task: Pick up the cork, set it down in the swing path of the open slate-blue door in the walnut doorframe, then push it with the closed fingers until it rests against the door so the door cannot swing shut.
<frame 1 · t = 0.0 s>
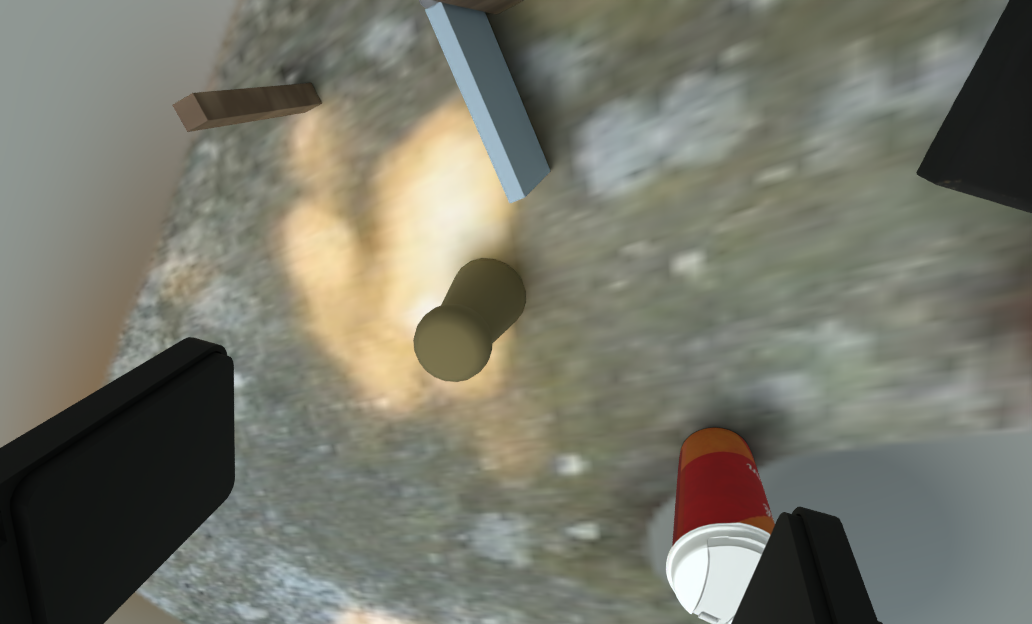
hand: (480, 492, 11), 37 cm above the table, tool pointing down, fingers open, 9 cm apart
door: (492, 92, 40), point 5 cm above the table, hinge at 90.0°
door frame: (402, 47, 45), on the table
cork: (489, 293, 51), on the table
paper cup: (715, 454, 52), on the table
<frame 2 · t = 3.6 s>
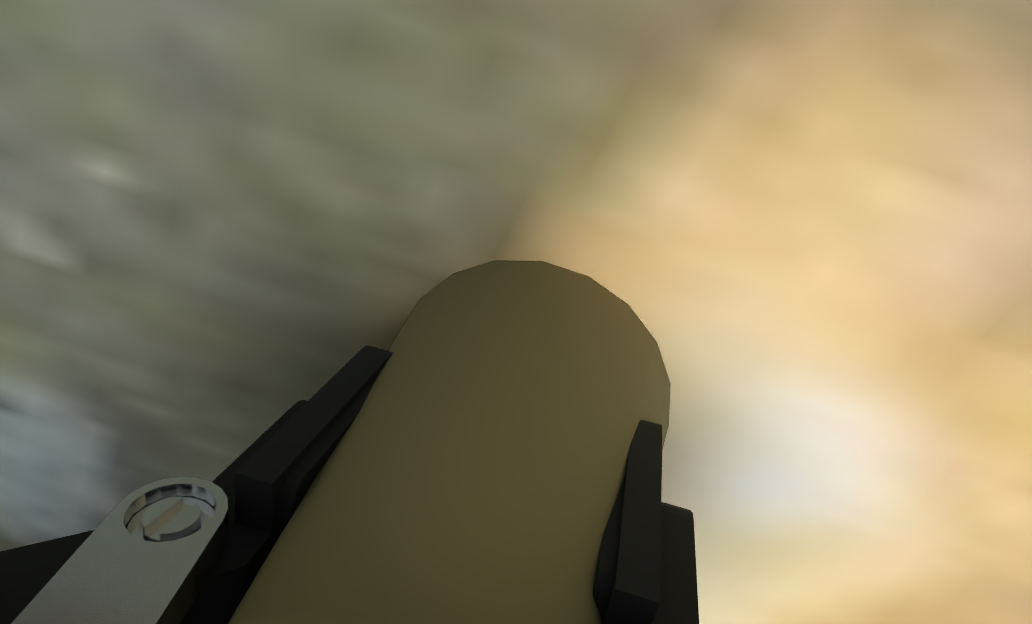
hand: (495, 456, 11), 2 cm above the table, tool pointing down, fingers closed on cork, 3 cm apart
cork: (527, 390, 14), on the table, touching gripper
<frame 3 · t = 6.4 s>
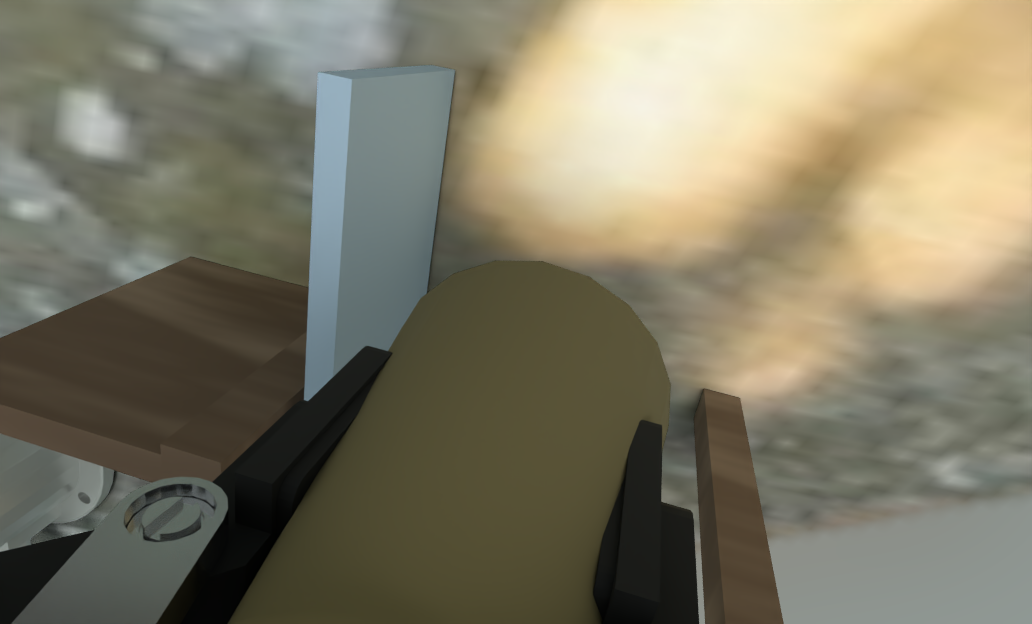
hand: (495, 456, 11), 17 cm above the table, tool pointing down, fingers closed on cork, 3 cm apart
door: (383, 245, 24), point 5 cm above the table, hinge at 90.0°
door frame: (534, 359, 30), on the table
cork: (527, 390, 14), point 14 cm above the table, touching gripper
when the fingers open (4 cm above the table, at t = 9.2 s): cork drops 1 cm, on the table.
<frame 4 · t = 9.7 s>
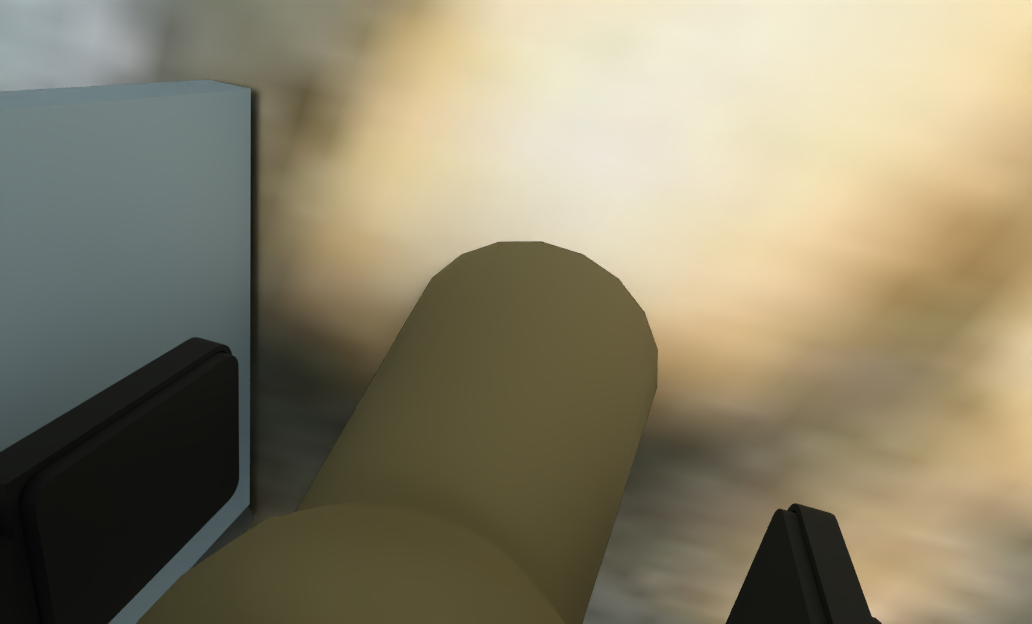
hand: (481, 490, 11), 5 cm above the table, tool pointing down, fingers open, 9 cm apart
door: (85, 438, 12), point 5 cm above the table, hinge at 90.0°, touching gripper
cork: (529, 360, 15), on the table
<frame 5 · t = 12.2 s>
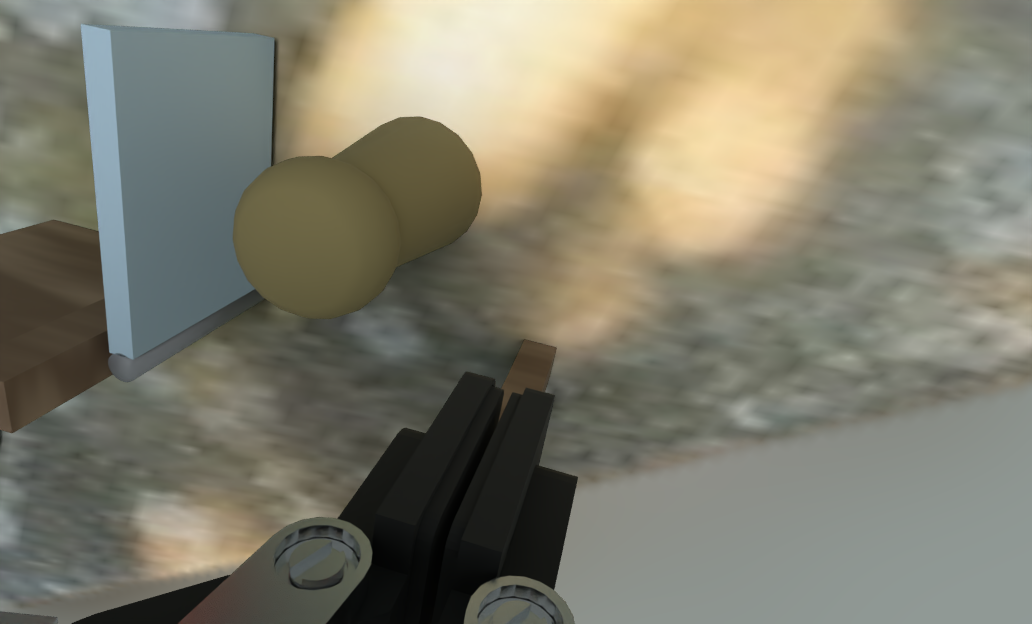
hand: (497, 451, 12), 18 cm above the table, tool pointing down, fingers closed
door: (197, 197, 26), point 5 cm above the table, hinge at 90.0°
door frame: (373, 314, 32), on the table
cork: (418, 184, 29), on the table
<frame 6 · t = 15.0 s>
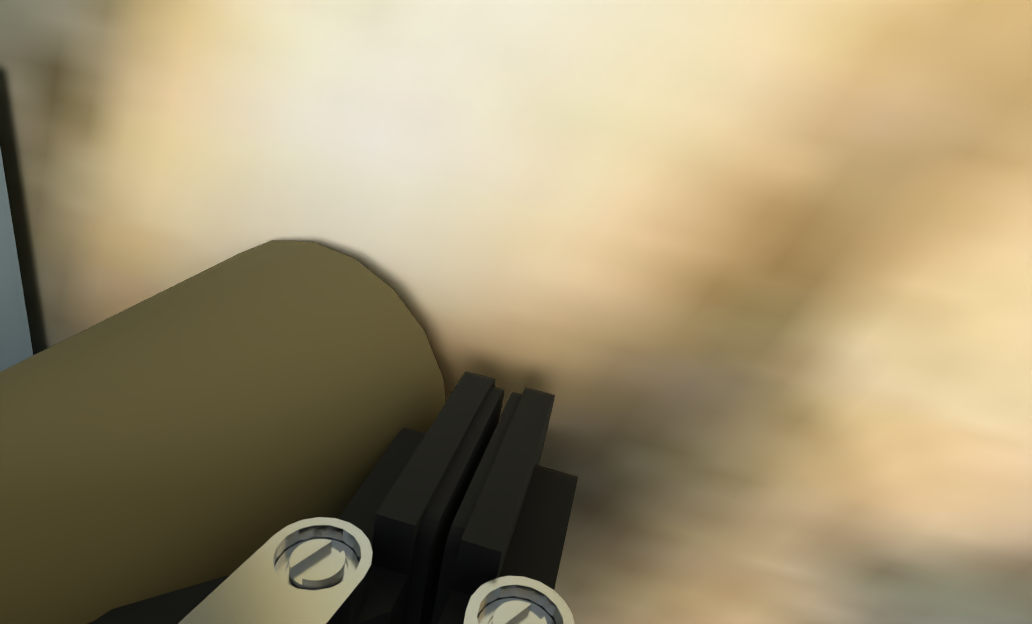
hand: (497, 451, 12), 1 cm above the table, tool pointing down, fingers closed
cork: (321, 381, 13), on the table
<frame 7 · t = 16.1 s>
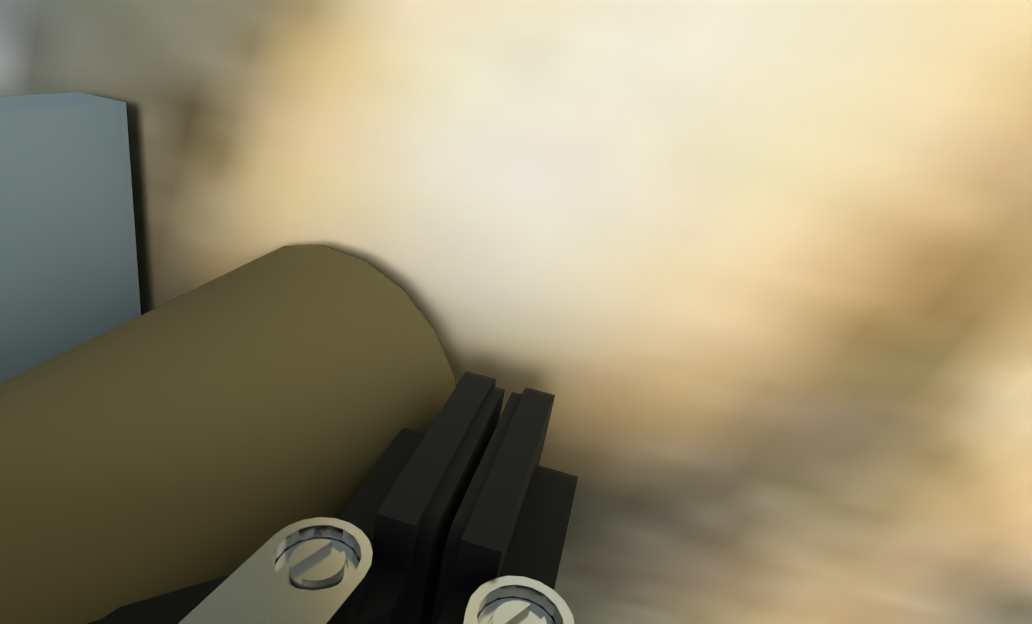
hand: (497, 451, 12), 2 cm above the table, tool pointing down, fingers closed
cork: (336, 385, 13), on the table, touching door, gripper
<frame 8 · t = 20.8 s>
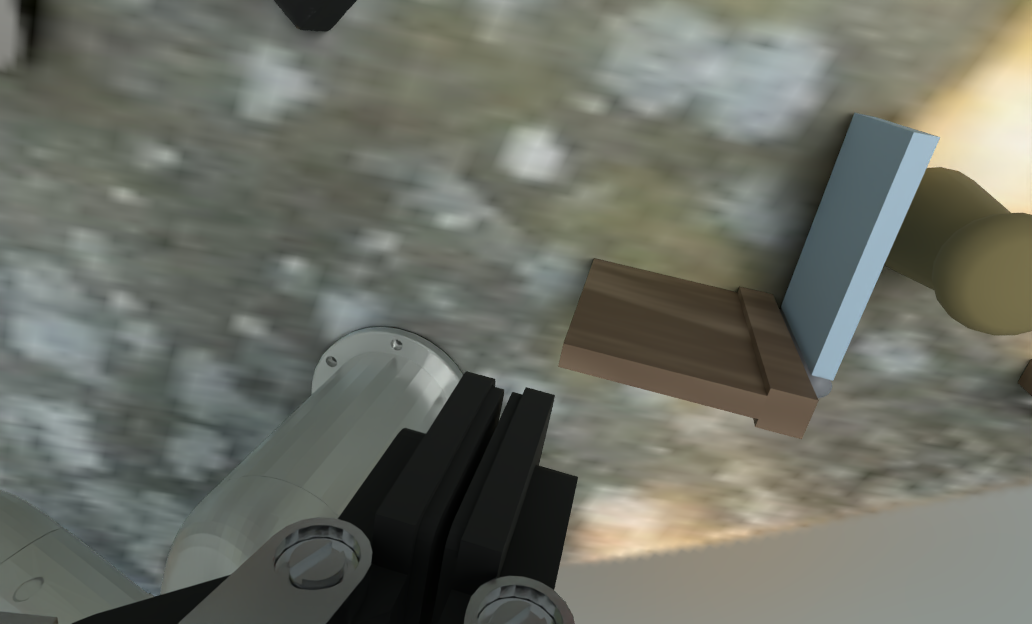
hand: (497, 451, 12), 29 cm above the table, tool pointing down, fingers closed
door: (840, 249, 32), point 5 cm above the table, hinge at 90.0°
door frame: (887, 338, 38), on the table
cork: (923, 221, 35), on the table
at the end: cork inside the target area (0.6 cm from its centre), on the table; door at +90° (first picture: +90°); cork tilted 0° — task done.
